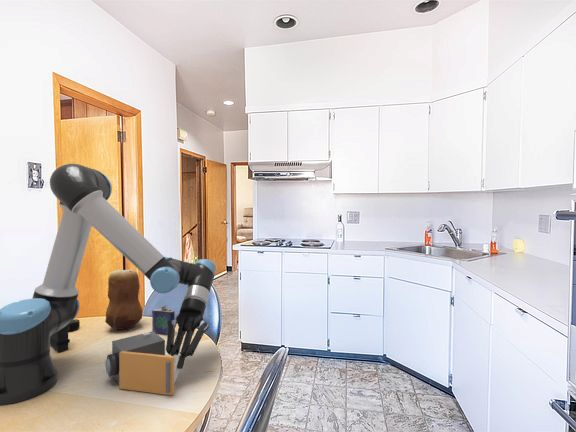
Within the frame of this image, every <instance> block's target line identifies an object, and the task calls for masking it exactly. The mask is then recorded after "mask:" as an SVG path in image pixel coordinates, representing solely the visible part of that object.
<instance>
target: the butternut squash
mask: <svg viewBox="0 0 576 432" xmlns="http://www.w3.org/2000/svg"><path fill="white" fill-rule="evenodd" d="M139 278H140V276H139V273H138V272H137V271H136V270H135V269H117V270H113V271H112V272H111V273H110V274H109V276H108V278H107V279H108V280H107V281H108V282H107V283H108V285H107V286H108V288H107V289H108V290H107V298H108V300H109V301H108V302H109V303H108V304H107V308H106V312H105V321H104V322H105V323H106V324H107V325H108V326H110V328H112V329H115V330H129V329H132V328H133V327H134V326H136V325H137V324H138V323H140V321H141V319H142V318H143V308H142V304H141V302H140V300H139V297H140V296H139V295H140V279H139Z"/></svg>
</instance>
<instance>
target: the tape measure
mask: <svg viewBox="0 0 576 432" xmlns="http://www.w3.org/2000/svg"><path fill="white" fill-rule="evenodd" d="M80 324H81V323H80V319H75V318H74V319H73V321H72V322H71V323H70V324H69V326H68V332H73V331H74V330H77V329H79V328H80Z"/></svg>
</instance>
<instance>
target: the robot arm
mask: <svg viewBox="0 0 576 432" xmlns="http://www.w3.org/2000/svg"><path fill="white" fill-rule="evenodd" d="M49 187H50V190H51V192H52V193H53V195H54V197H55V198H56V199H57V200H58V201H59V204H58V205H59V206H60V208H61V209H62V214H61V217H60V222H59V225H58V228H57V233H56V236H55V239H54V243H53V246H52V249H51V254H50V257H49V261H48V264H47V268H46V272H45V275H44V277H43V282H42V283H41V284H40V285H38V286H37V287H35V288H34V292H33V295H32V298H27V299H21V300H19V301H14V302H11V303H9V304H7V305H4V306H3V307H1V308H0V405H9V404H15V403H20V402H22V401H27V400H29V399H32V398H34V397H37V396H39V395H42V394H43V393H45V392H47V391H48V390H50V389H51V388H53V386H55V385H56V383H57V382H58V369H57V367H56V365H55V362H54V360H53V358H52V357H51V356H52V355H51V345H50V336H52V335H53V334H55V333H56V332H58V331H59V330H61V329H62V328H64V327H65V326H67V325H68V324H70V323H71V322H72V321H73V319H75V318H76V317H77V316H78V313H79V310H80V300H79V299H78V297H79V294H80V293H79V292H80V291H79V290H78V289H77V287H76V284H77V281H78V277H79V272H80V270H81V266H82V262H83V259H84V255H85V253H86V248H87V244H88V240H89V237H90V234H91V230H92V227H93V228H94V229H95V230H96V231H97V232H99V234H100V235H101V236H103V238H104V239H105V240H107V241H108V242H109V243H110V244H111V245H112V246H113V247H114V248H115V249H116V250H117V251H118V252H119V253H120V254H122V255H123V257H125V259H127V260H128V261H129V262H130V263H131V264H132V265H133V266H134V267H135V268H136V269H138V271H139V272H141V273H142V274H143V275H144V276H145V277H146V278H147V279H148V280H149V282H150V287H151V288H152V289H153V291H154V292H156V293H158V294H168V293H170V292H172V291H173V290H174V289H176V288H177V287H178V285H179V284H181V285H184V286H187V289H186V291H185V294H184V297H183V300H182V303H181V305H180V308H179V312H178V315H177V316H176V318H175V320H173V321H170V320H169V321H168V322H167V324H168V327H169V328H168V335H167V336H166V344H165V353H167V355H168V356H174V384H175V383H176V381H177V379H178V375H179V370H182V369H183V368H184V366H185V360H186V358H187V357H189V356H190V357H193V355H194V354H195V352H196V350H197V348H198V346H199V343H200V341H201V340H202V338H203V336H204V334H205V333H206V331H207V330H208V329H209V324H208V323H207V321H204V315H205V311H206V308H207V306H206V305H207V303H208V300H209V295H210V293H211V289H212V285H213V282H214V278H215V275H216V270H217V265H216V264H215V263H214V262H213V261H212V260H210V259H207V258H204V259H203V258H199V259H198V260H196V262H195V263H192V262H188V261H184V260H179V259H176V258H172V257H169V256H168V257H167V256H165V255H163V254H162V253H161V252H160V251H159V250H158V249H157V248H156V247H155V246H154V245H153V244H152V243H151V242H150V241H149V240H148V239H147V238H145V236H143V234H142V233H140V232H139V231H138V230H137V228H135V226H133V225H132V224H131V223H130V222H129V221H128V220H127V219H126V218H125V217H124V216H123V215H122V214H121V213H120V212H119V211H118V210H117V209H116V208H115V207H114V206H113V205H111V203H110V202H108V200H109V199H110V198H111V195H112V192H113V191H112V190H113V186H112V183H111V180H110V179H109V177H108V176H106V175H105V174H104V173H102V172H101V171H100V170H97V169H94V168H91V167H88V166H84V165H81V164H77V163H66V164H62V165H61V166H59V167H57V168H56V169H55V170H54V171H53V172H52V173H51V176H50V179H49ZM177 326H178V329H177V334H176V327H177ZM196 329H197V330H196ZM195 330H196V332H195ZM175 335H176V337H175Z"/></svg>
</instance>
